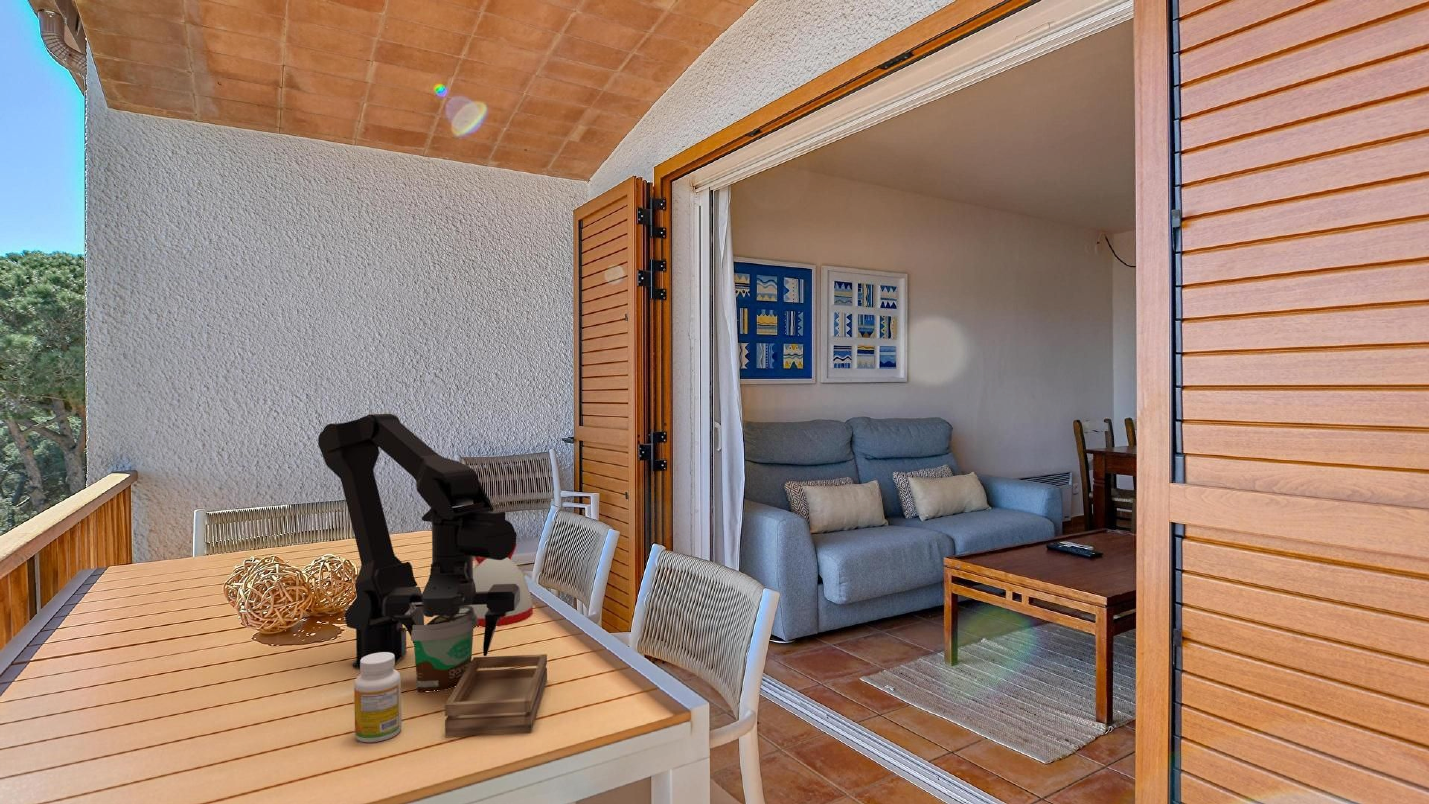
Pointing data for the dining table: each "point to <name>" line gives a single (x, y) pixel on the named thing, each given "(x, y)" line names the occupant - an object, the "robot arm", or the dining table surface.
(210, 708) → the dining table surface
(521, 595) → the kitchen timer
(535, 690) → the tray
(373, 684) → the supplement bottle
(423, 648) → the food container
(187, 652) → the dining table surface
